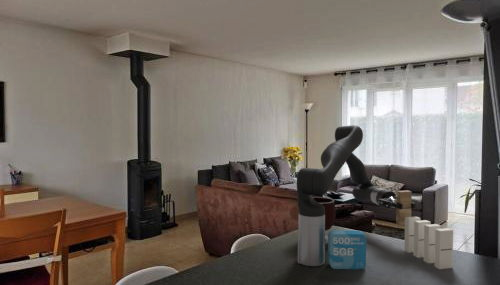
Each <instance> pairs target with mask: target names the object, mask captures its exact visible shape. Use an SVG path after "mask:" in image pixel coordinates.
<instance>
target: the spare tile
mask: <svg viewBox="0 0 500 285" xmlns="http://www.w3.org/2000/svg"><path fill="white" fill-rule="evenodd" d="M412 194H413V193H412V191H411V190H408V189H407V190H396V196H397V202H398V203H401V204H403V209H401V210H400V209H398V208H395V210H396V214H395V215H396V216H395V218H396V219H395V221H396V222H395V223H396V224H397V225H399V226H403V225H404V226H405V217H412V208H411V201H412V200H413V199H412Z"/></svg>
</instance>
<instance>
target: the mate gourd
mask: <svg viewBox="0 0 500 285" xmlns="http://www.w3.org/2000/svg"><path fill="white" fill-rule="evenodd" d="M311 197H312V198H313V199H314V200H315V201H316V202H318V203H320V204H322V205H323V206H324V207H325V232H326V231H329V230H330V229H332V227H333V226H334V224H335V221H336V216H337V214H336V211H337V210H336V204H335V199H333V198H331V197H322V196H313V195H311ZM326 245H327V246H328V235H326V234H325V246H326Z"/></svg>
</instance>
